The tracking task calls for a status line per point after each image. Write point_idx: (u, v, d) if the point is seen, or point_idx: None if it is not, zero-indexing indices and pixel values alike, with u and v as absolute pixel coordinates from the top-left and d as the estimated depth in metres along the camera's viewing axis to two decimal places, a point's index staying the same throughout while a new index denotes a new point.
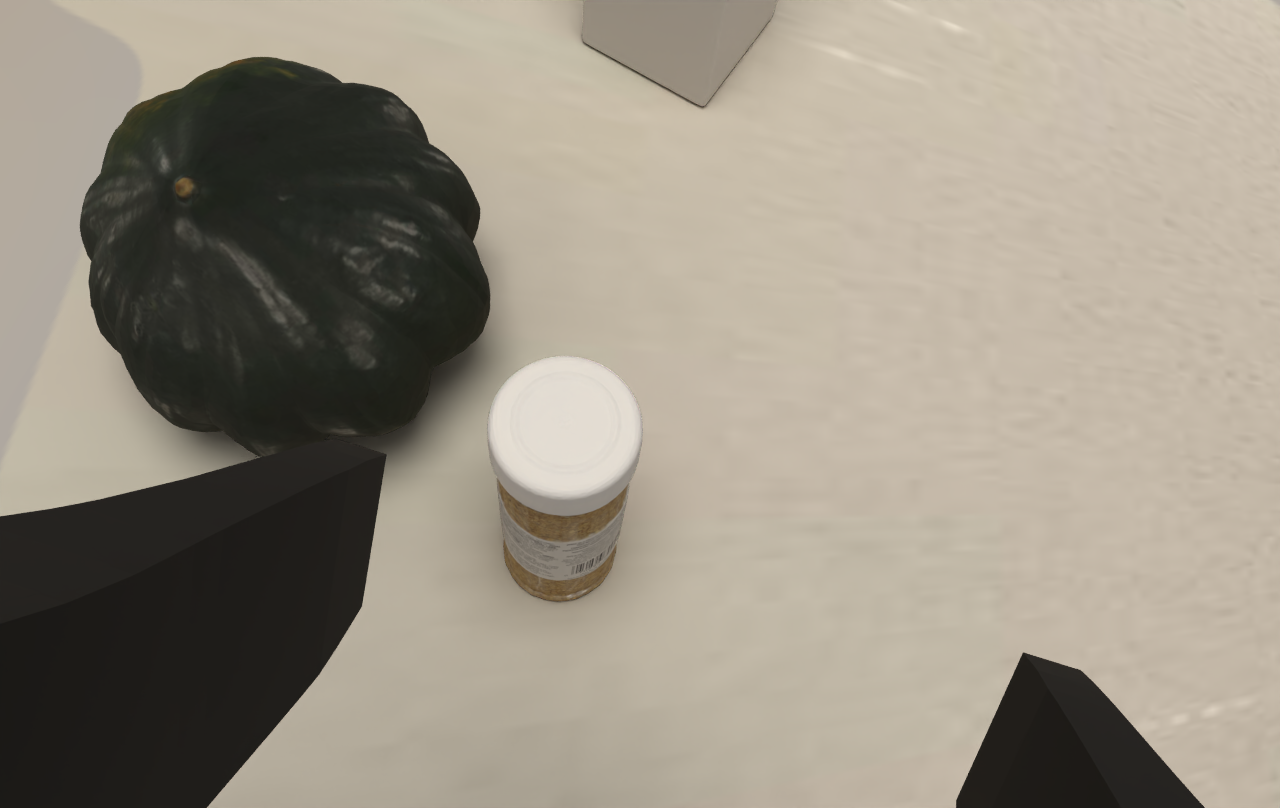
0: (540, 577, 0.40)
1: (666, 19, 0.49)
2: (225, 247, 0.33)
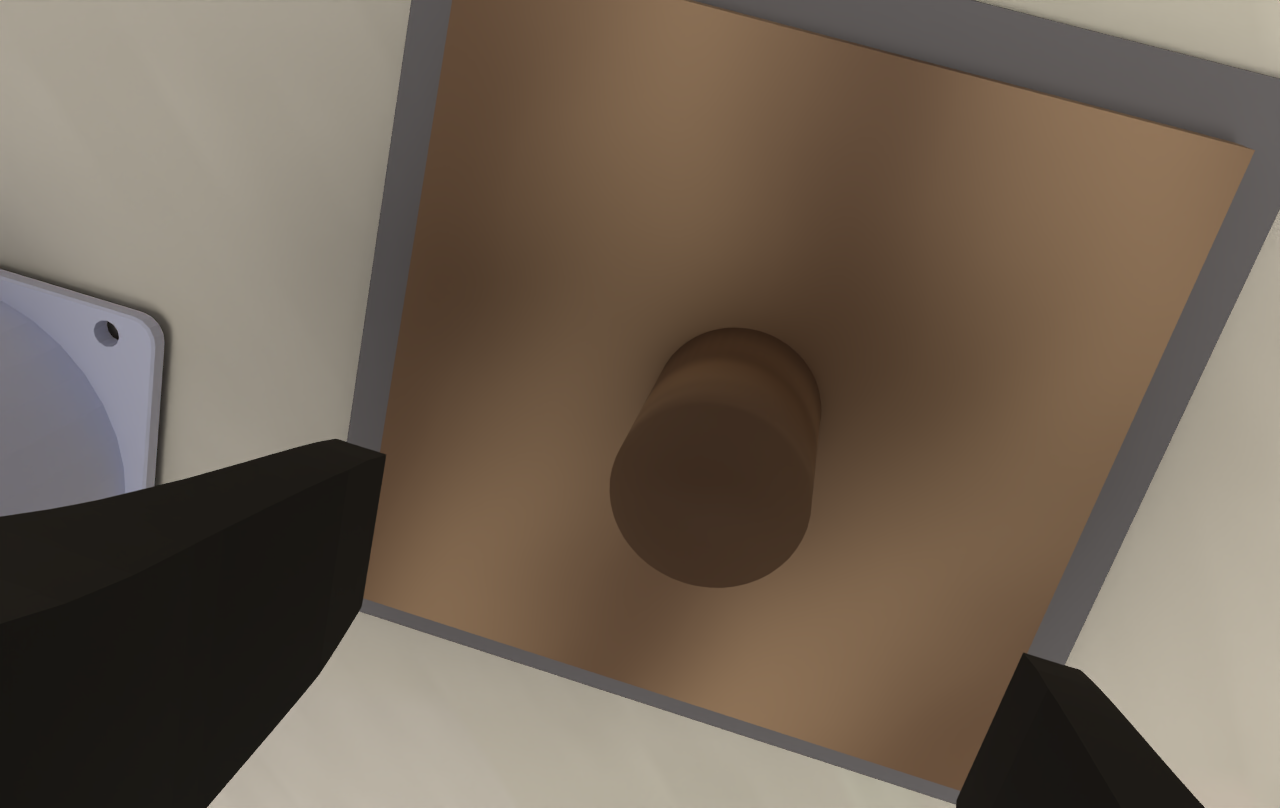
0: None
1: None
2: None
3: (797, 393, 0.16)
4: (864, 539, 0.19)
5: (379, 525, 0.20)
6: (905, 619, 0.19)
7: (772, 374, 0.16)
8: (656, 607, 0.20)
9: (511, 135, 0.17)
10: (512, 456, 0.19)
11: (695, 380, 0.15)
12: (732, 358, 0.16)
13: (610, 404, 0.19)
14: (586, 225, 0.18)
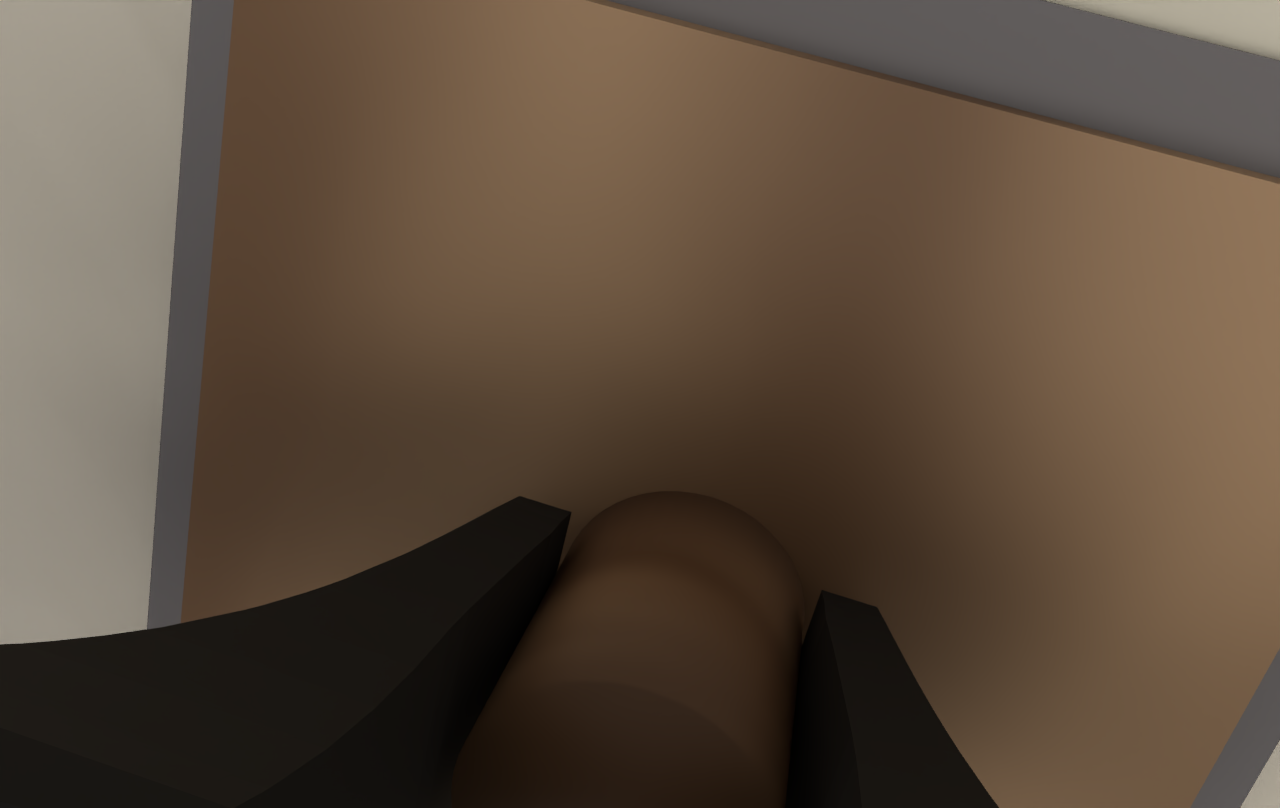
0: None
1: None
2: None
3: (764, 619, 0.10)
4: None
5: None
6: None
7: (724, 591, 0.10)
8: None
9: (335, 206, 0.12)
10: None
11: (595, 617, 0.10)
12: (662, 563, 0.10)
13: None
14: (451, 338, 0.12)
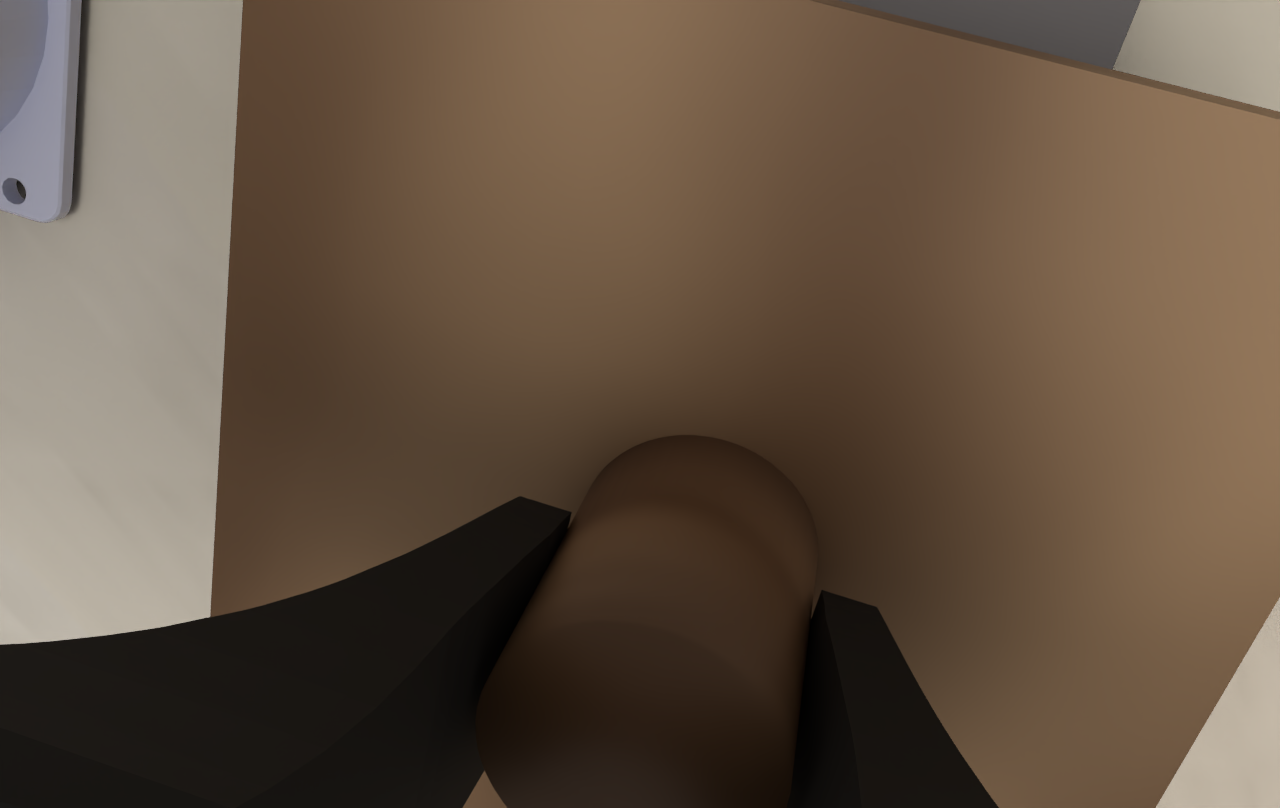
0: None
1: None
2: None
3: (776, 560, 0.11)
4: None
5: None
6: None
7: (737, 533, 0.10)
8: None
9: (351, 156, 0.12)
10: None
11: (612, 557, 0.10)
12: (678, 506, 0.11)
13: None
14: (468, 287, 0.12)
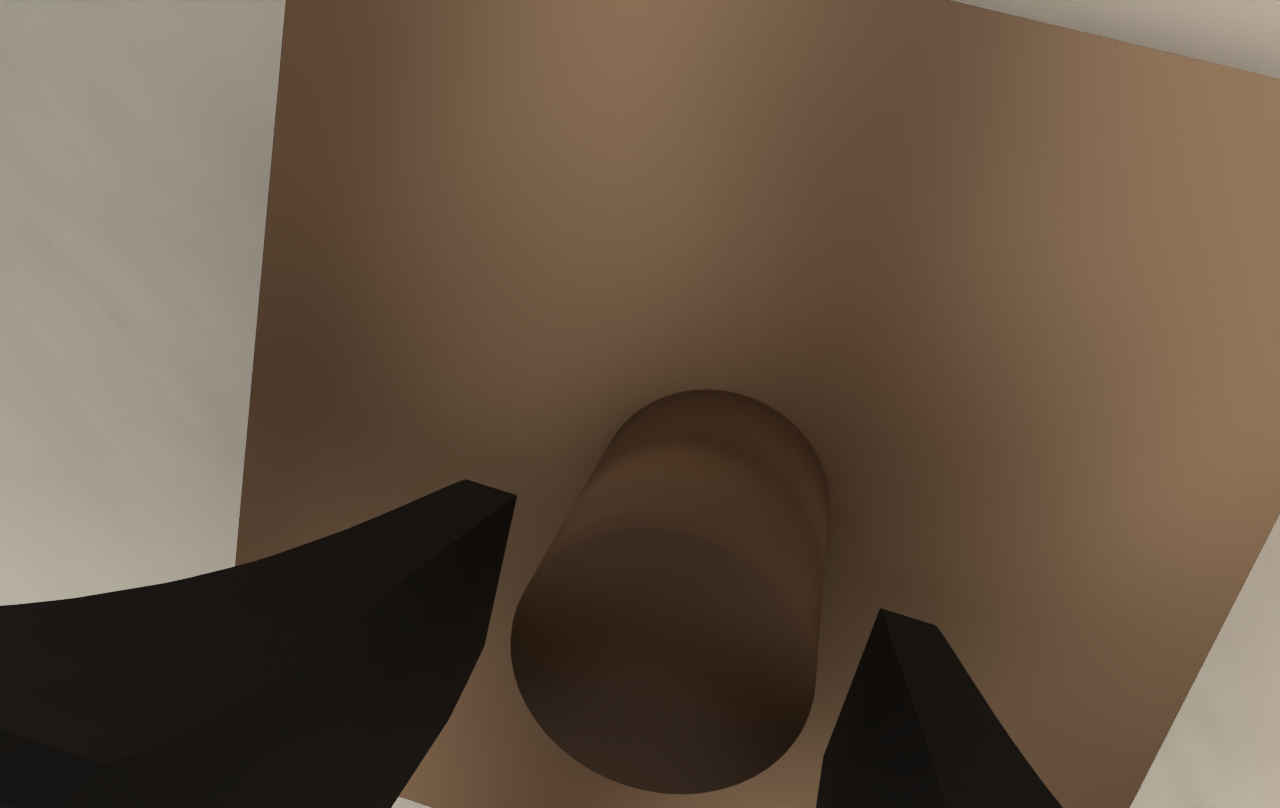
0: None
1: None
2: None
3: (793, 493, 0.11)
4: None
5: None
6: None
7: (756, 466, 0.11)
8: None
9: (386, 124, 0.12)
10: None
11: (640, 481, 0.10)
12: (698, 443, 0.11)
13: (539, 493, 0.14)
14: (495, 249, 0.13)
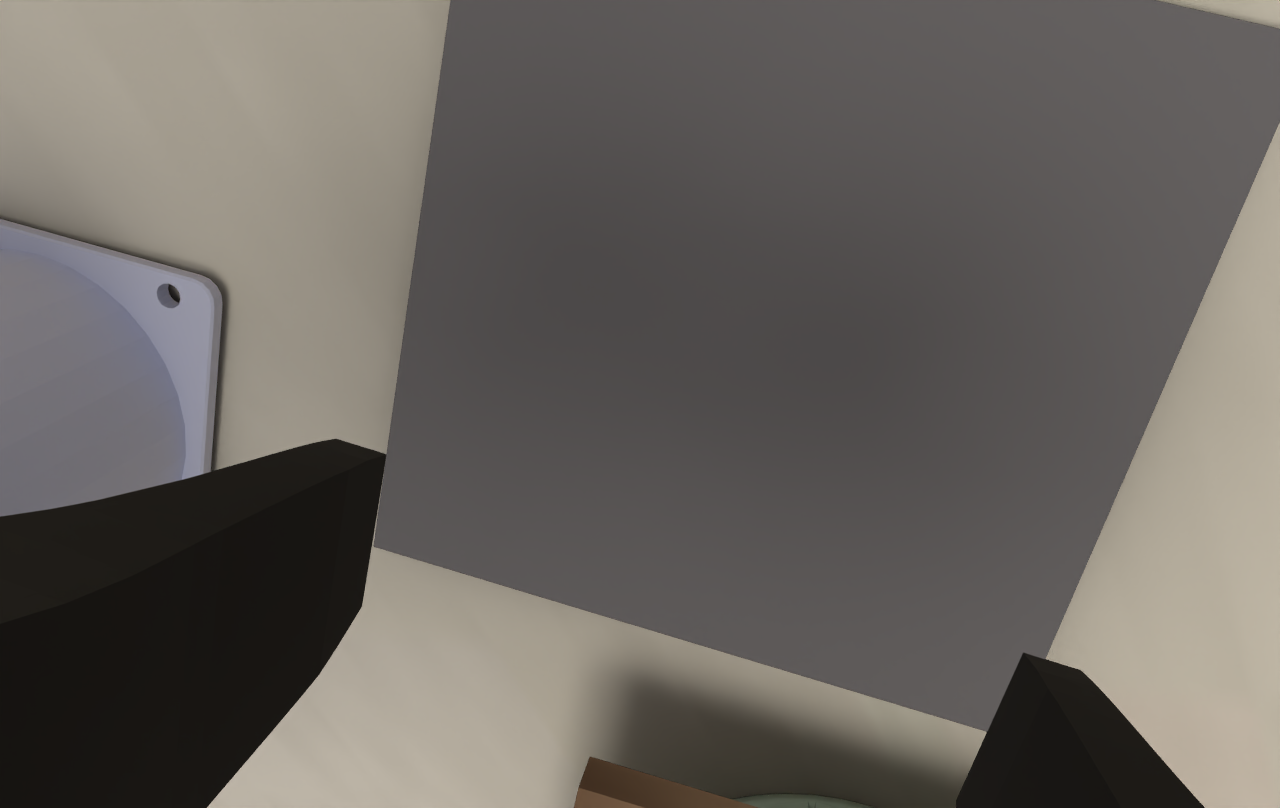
0: None
1: None
2: None
3: None
4: None
5: None
6: None
7: None
8: None
9: None
10: None
11: None
12: None
13: None
14: None
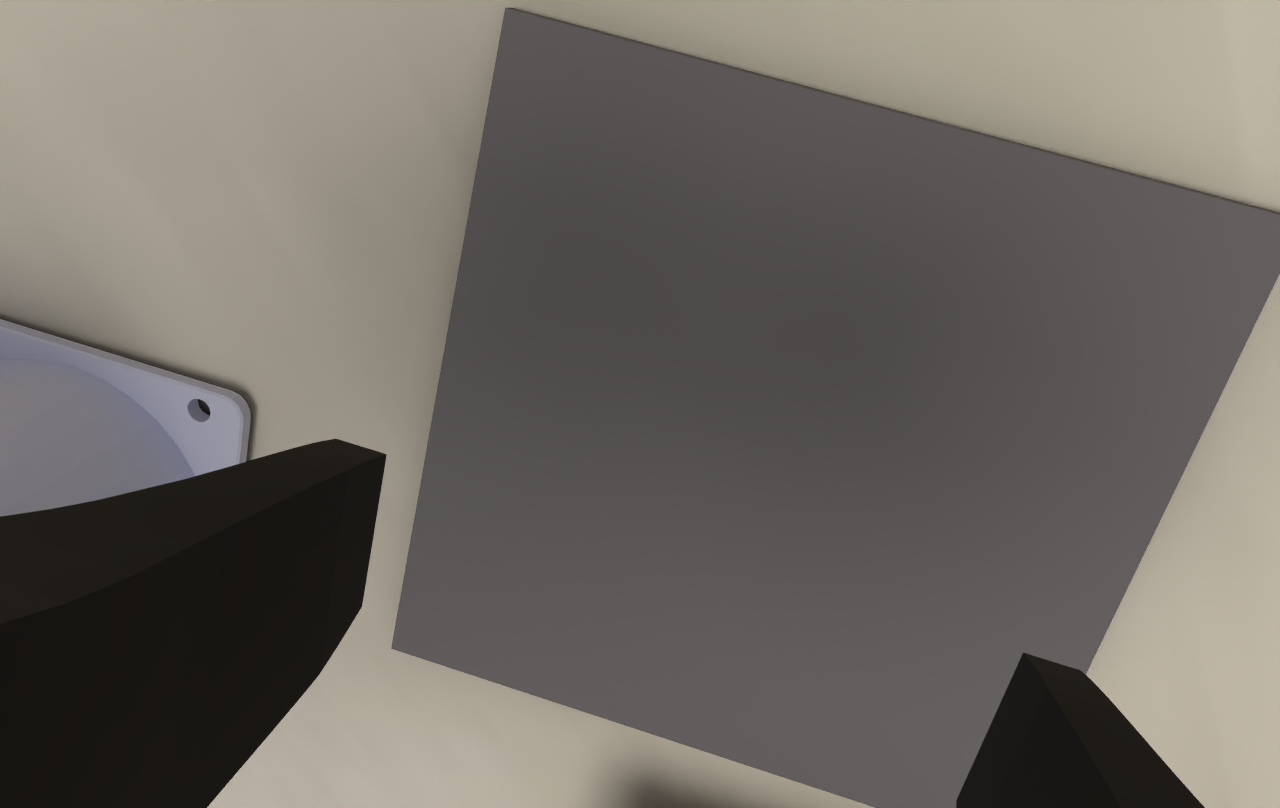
0: None
1: None
2: None
3: None
4: None
5: None
6: None
7: None
8: None
9: None
10: None
11: None
12: None
13: None
14: None
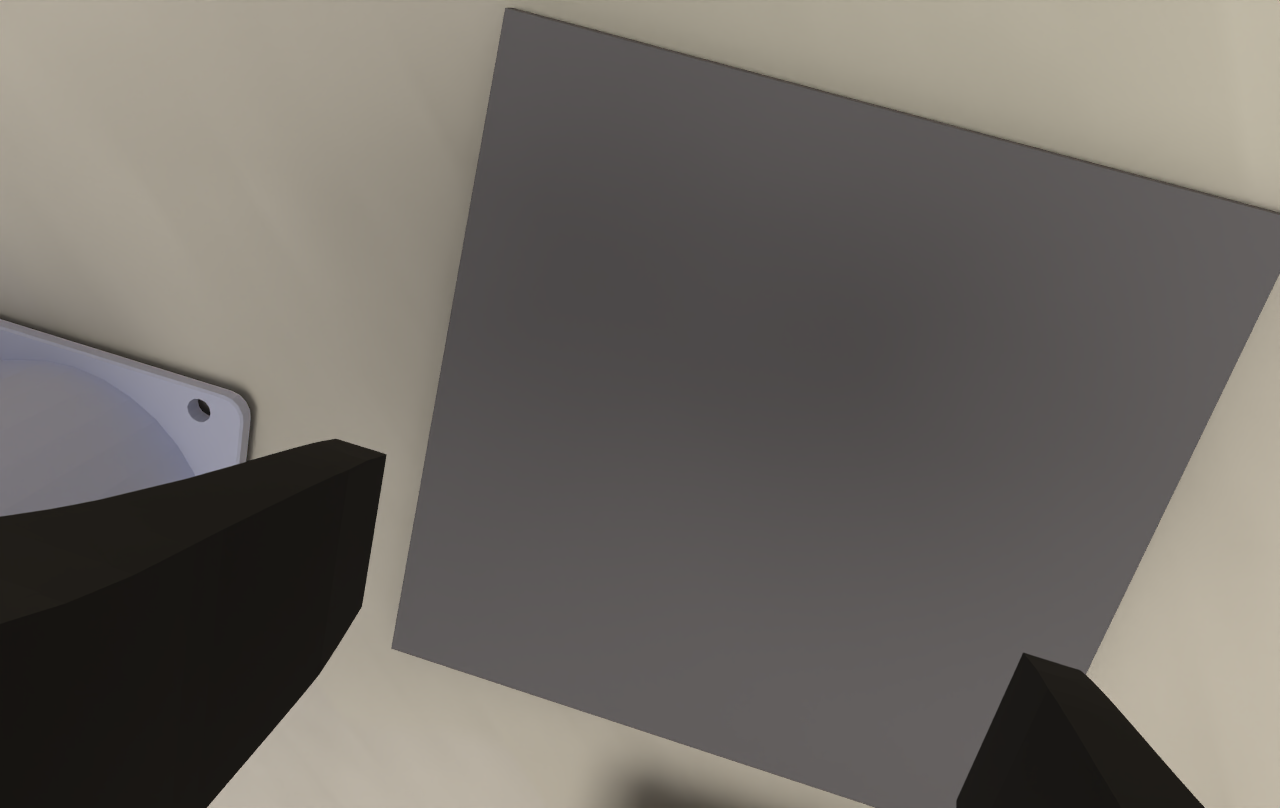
0: None
1: None
2: None
3: None
4: None
5: None
6: None
7: None
8: None
9: None
10: None
11: None
12: None
13: None
14: None
